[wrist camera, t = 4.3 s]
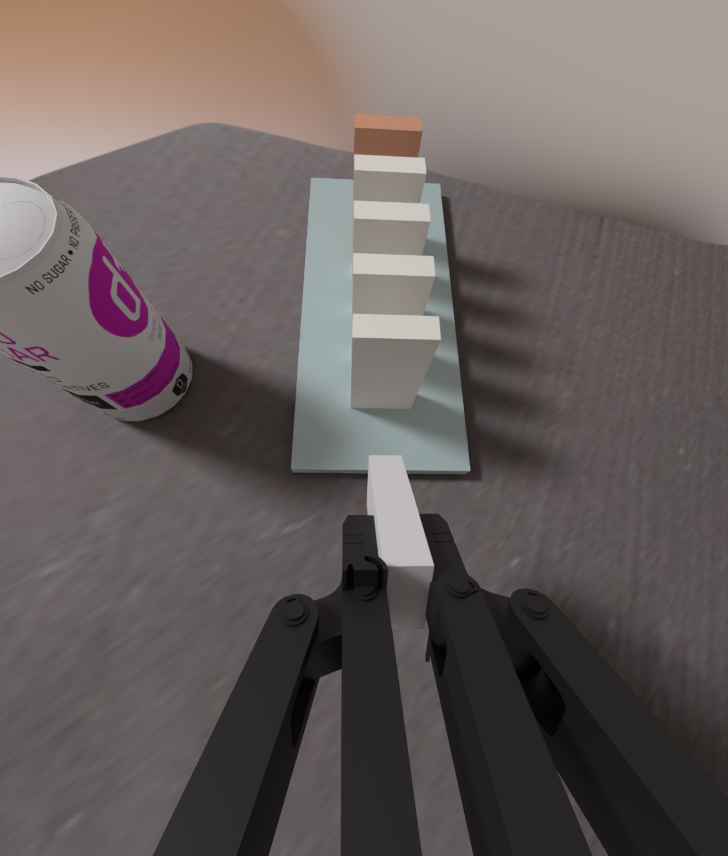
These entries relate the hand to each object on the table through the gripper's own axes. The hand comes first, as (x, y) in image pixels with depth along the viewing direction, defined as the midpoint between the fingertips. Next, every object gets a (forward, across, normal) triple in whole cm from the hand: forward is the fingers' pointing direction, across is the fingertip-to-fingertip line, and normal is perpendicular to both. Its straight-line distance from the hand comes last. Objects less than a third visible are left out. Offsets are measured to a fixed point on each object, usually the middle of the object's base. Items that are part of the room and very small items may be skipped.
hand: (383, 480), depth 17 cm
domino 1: (+26, +1, +12) cm, 29 cm away
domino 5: (+14, +1, -1) cm, 14 cm away
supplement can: (+16, -19, 0) cm, 25 cm away
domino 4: (+17, +1, +2) cm, 17 cm away
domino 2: (+23, +1, +9) cm, 25 cm away
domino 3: (+20, +1, +5) cm, 21 cm away
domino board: (+22, +1, +5) cm, 22 cm away
